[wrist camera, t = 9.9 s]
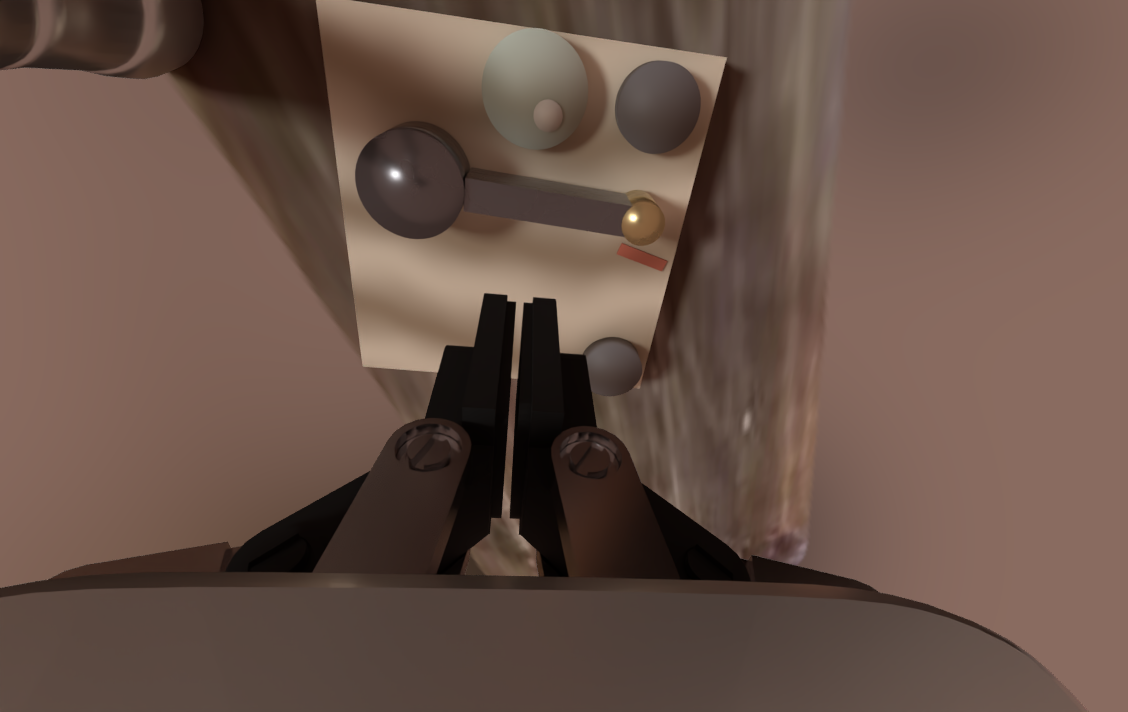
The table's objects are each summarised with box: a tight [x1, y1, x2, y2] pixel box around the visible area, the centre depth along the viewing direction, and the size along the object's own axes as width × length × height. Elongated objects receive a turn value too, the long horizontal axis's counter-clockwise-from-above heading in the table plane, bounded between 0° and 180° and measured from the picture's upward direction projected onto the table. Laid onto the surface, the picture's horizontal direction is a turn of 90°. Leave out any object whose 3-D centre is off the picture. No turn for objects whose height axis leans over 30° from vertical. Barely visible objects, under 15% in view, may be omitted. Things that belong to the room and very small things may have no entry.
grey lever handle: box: [355, 121, 665, 246], centre depth 24 cm, size 15×5×3 cm, turn 80°
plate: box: [316, 0, 727, 396], centre depth 28 cm, size 20×19×3 cm
